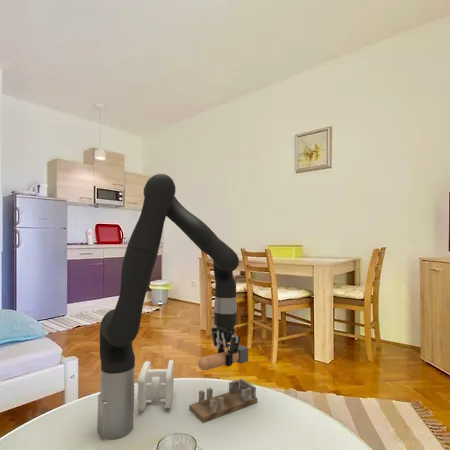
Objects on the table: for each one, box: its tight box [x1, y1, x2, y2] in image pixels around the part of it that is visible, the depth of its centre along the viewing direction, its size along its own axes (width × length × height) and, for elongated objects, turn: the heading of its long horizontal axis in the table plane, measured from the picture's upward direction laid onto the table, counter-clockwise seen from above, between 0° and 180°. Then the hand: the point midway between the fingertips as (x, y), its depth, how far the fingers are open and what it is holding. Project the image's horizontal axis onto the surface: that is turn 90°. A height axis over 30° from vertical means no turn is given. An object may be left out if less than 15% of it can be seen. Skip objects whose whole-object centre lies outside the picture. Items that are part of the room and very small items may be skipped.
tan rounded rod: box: [197, 344, 249, 371], centre depth 101 cm, size 18×4×4 cm, turn 124°
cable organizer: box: [136, 359, 175, 412], centre depth 103 cm, size 15×11×12 cm
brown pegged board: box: [188, 378, 258, 424], centre depth 101 cm, size 21×9×5 cm, turn 124°
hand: (225, 363), depth 101 cm, fingers closed on tan rounded rod, 4 cm apart
